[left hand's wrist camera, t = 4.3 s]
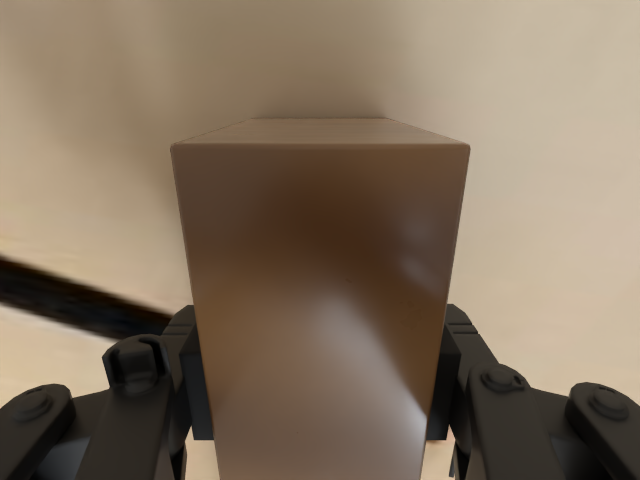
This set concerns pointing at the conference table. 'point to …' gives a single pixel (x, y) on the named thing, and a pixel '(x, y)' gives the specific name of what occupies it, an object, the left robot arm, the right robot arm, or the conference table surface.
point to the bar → (320, 290)
